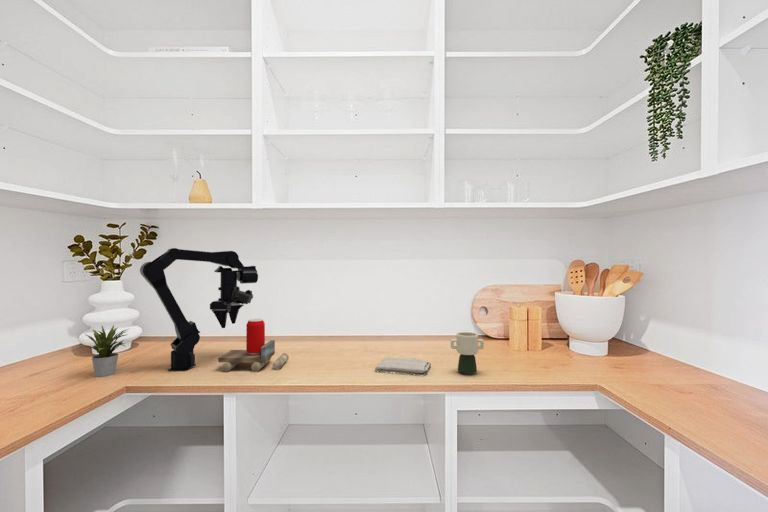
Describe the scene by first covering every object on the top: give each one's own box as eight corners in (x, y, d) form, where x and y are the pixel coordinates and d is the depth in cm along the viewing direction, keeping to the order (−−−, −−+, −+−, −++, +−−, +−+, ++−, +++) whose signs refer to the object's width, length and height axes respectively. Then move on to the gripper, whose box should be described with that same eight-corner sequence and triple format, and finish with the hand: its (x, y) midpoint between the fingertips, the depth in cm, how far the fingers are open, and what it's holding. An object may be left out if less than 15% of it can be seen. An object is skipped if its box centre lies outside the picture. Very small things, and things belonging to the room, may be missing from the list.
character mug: (481, 369, 126) (481, 331, 126) (486, 376, 119) (486, 336, 119) (449, 369, 127) (449, 331, 127) (452, 376, 120) (452, 335, 120)
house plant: (129, 377, 119) (130, 326, 119) (74, 384, 112) (74, 331, 112) (134, 366, 131) (134, 320, 131) (84, 372, 124) (84, 323, 125)
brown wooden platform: (216, 372, 124) (217, 348, 125) (232, 361, 137) (232, 339, 138) (264, 371, 125) (264, 348, 125) (275, 361, 138) (275, 339, 138)
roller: (272, 369, 127) (272, 360, 127) (280, 361, 137) (280, 353, 137) (281, 369, 127) (281, 360, 127) (288, 361, 137) (288, 353, 137)
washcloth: (427, 378, 119) (427, 368, 119) (373, 373, 124) (373, 364, 124) (431, 367, 131) (431, 358, 131) (382, 364, 135) (382, 355, 135)
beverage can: (256, 350, 135) (256, 317, 135) (268, 352, 132) (268, 319, 132) (242, 354, 130) (242, 320, 130) (254, 356, 127) (254, 321, 127)
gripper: (240, 286, 130) (240, 330, 130) (258, 282, 149) (258, 321, 149) (209, 286, 130) (209, 330, 130) (230, 282, 148) (230, 321, 148)
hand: (228, 325), depth 139 cm, fingers open, 9 cm apart
